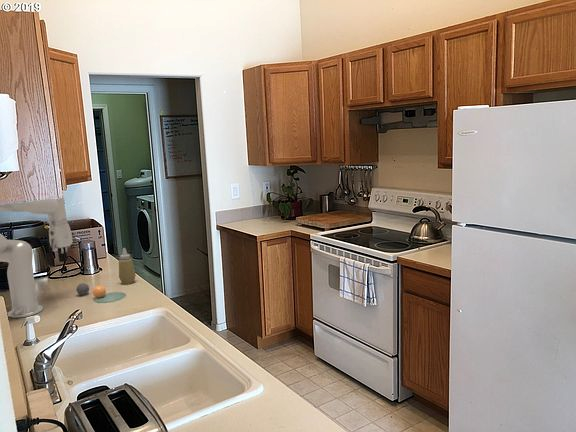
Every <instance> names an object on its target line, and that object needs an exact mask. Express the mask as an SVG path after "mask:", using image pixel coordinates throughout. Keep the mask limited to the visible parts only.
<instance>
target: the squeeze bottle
mask: <svg viewBox="0 0 576 432" xmlns="http://www.w3.org/2000/svg"><path fill="white" fill-rule="evenodd" d="M121 252H122V254H121V255H119V256H120V258H119V260H118V278H119V280H120V282H121V285H130V284H134V283H135V280H136V270H135V265H134V261H133V258H131V254H129V253H128V252H127V249H126V247H123V248H122V251H121Z"/></svg>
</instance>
